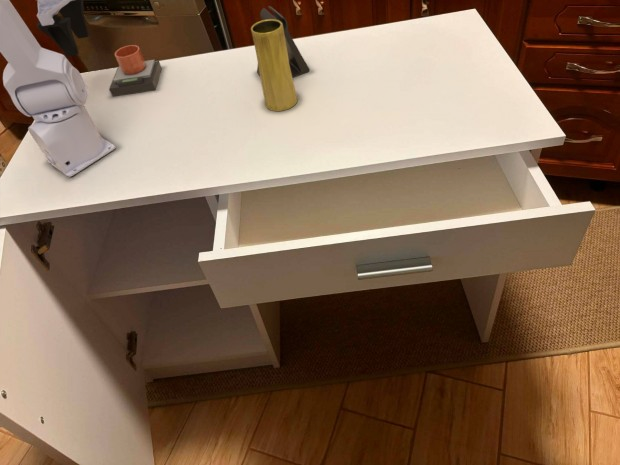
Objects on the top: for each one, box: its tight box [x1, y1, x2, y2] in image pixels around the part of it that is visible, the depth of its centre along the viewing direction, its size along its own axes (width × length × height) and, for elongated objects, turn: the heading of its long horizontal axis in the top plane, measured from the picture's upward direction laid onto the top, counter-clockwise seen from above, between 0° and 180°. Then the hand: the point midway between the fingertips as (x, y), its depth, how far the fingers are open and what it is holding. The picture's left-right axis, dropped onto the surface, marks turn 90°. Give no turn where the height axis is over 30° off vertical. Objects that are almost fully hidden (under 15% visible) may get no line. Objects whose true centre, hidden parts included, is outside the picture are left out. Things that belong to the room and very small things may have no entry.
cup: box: [114, 44, 146, 75], centre depth 98 cm, size 5×5×4 cm
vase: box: [250, 19, 299, 112], centre depth 83 cm, size 6×6×14 cm
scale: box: [108, 59, 163, 97], centre depth 99 cm, size 9×9×3 cm
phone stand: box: [256, 5, 310, 79], centre depth 91 cm, size 9×6×12 cm, turn 115°
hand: (78, 45), depth 93 cm, fingers open, 7 cm apart
